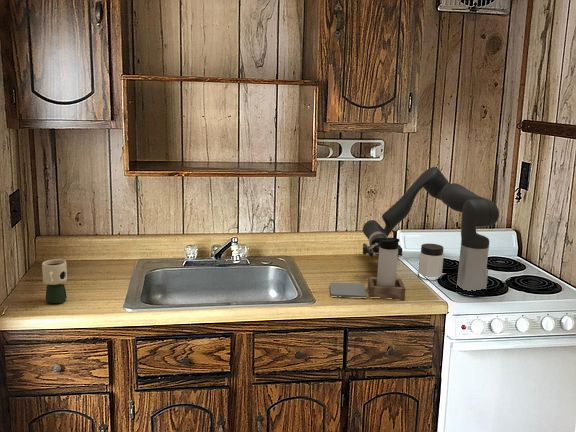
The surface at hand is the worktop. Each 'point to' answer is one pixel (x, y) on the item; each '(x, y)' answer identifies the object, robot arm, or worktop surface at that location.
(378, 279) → the travel mug
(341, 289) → the cover plate
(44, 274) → the character mug
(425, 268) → the jar
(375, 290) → the walnut holder
